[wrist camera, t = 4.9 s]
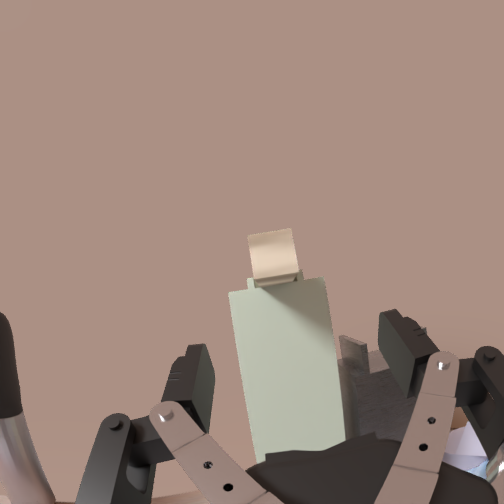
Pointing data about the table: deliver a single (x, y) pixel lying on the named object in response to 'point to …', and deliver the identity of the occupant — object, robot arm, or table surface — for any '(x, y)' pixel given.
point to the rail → (273, 257)
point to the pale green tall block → (288, 365)
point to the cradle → (371, 393)
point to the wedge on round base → (464, 449)
